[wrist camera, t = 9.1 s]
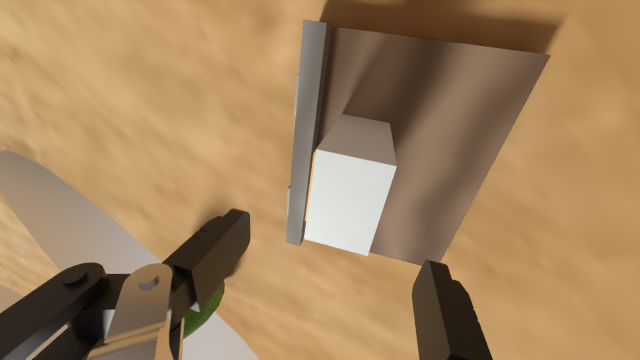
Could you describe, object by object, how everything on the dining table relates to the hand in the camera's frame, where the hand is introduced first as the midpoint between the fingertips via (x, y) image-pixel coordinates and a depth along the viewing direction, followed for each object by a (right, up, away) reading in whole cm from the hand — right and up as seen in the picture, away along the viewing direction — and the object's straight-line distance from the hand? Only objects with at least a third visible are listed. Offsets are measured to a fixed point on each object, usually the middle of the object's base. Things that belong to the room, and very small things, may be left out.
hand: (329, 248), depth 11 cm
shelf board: (+6, +5, +12) cm, 14 cm away
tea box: (+3, +6, +10) cm, 12 cm away
